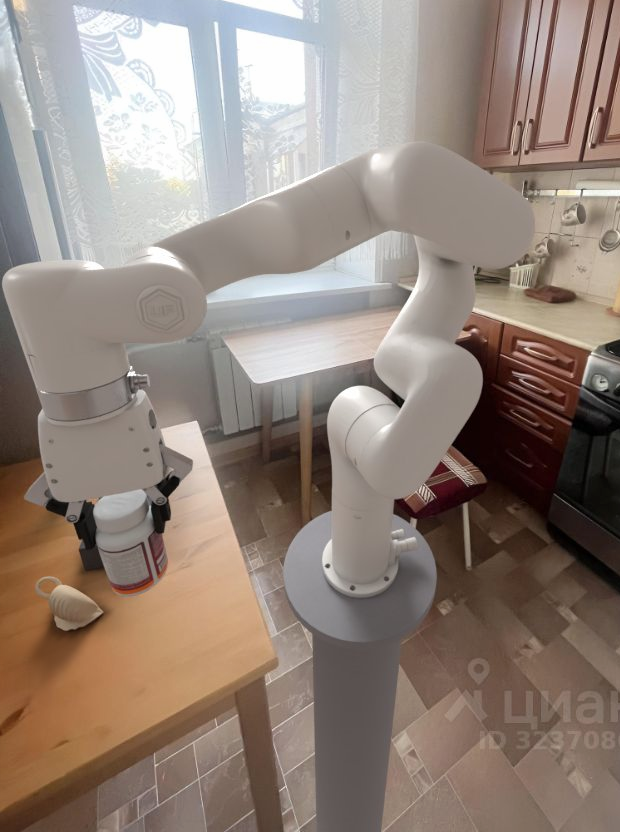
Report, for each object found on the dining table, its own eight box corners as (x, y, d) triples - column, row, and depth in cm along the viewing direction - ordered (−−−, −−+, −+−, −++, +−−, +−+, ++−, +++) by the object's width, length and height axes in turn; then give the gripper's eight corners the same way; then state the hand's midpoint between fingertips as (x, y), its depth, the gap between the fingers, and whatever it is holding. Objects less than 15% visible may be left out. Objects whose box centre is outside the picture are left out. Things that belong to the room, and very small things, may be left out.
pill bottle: (150, 545, 51) (132, 475, 47) (179, 568, 48) (163, 495, 44) (100, 582, 46) (75, 508, 42) (130, 609, 43) (106, 533, 39)
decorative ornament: (75, 640, 53) (65, 613, 51) (39, 612, 56) (28, 586, 54) (104, 613, 56) (96, 587, 54) (69, 588, 60) (60, 563, 58)
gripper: (189, 366, 44) (210, 493, 50) (-1, 387, 38) (51, 525, 45) (184, 397, 37) (209, 538, 44) (-46, 428, 32) (23, 582, 39)
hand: (128, 530), depth 45 cm, fingers closed on pill bottle, 6 cm apart
